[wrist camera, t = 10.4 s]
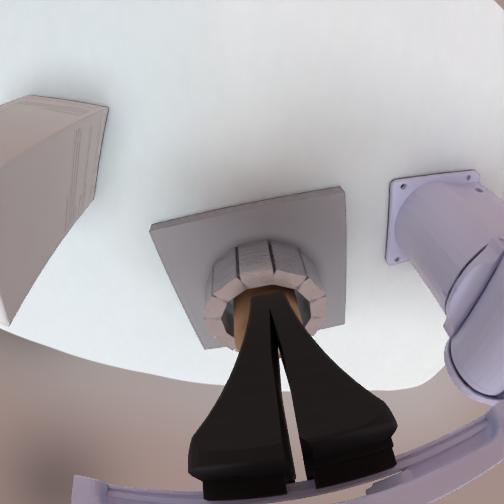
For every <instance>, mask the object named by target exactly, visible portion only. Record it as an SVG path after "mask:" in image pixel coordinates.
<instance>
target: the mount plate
mask: <svg viewBox="0 0 504 504" xmlns="http://www.w3.org/2000/svg"><path fill="white" fill-rule="evenodd" d="M149 233H150V235H151V237H152V240H153V242H154V244H155V247H156V249H157V251H158V254H159V256H160V258H161V261H162V263H163V265H164V267H165V270H166V272H167V274H168V276H169V278H170V281H171V283H172V285H173V287H174V289H175V291H176V293H177V296H178V298H179V300H180V302H181V304H182V306H183V308H184V310H185V312H186V314H187V316H188V318H189V320H190V322H191V324H192V326H193V328H194V330H195V332H196V334H197V336H198V338H199V340H200V342H201V344H202V346H203V348H204V350H206V349H213V348H220V347H226V346H225V345H223V344H221V343H220V342H218V341H216V340H215V339H214V337H212V336H211V334H210V331H209V329H208V327H207V325H206V323H205V320H204V307H205V292H206V283H207V280H208V277H209V274H210V271H211V268H212V265H214V262H215V261H217V260H218V259H219V258H220V257H222V256H223V255H224V254H226V253H227V252H228V251H229V250H231V249H232V248H233V247H236V248H238V245H240V244H245V243H250V242H255V241H260V240H265V239H267V243H269V241H270V239H271V240H275V241H279V242H282V243H286V244H290V245H294V246H297V249H298V248H300V249H301V250H302V251H303V252H304V254H305V255H306V256H307V257H308V258H309V259H310V260H311V261H312V262H313V263H314V265H315V267H316V270H317V272H318V275H319V278H320V280H321V283H322V286H323V289H324V292H325V294H326V302H327V316H325V317H326V319H325V321H324V322H323V323H322V325H321V326H320V328H319V329H318V330H320V329H325V328H329V327H334V326H338V325H342V324H345V303H346V205H345V192H344V190H343V189H342V188H341V187H335V188H329V189H323V190H317V191H311V192H305V193H300V194H294V195H289V196H283V197H278V198H273V199H268V200H262V201H257V202H252V203H247V204H242V205H238V206H233V207H228V208H223V209H218V210H214V211H209V212H205V213H200V214H195V215H191V216H187V217H182V218H178V219H174V220H169V221H165V222H161V223H157V224H152V226H151V228H150V231H149ZM294 290H295V294H296V297H297V295H298V293H299V292H298V291H297V290H296V289H294ZM228 303H230V304H231V305H232V306H233V299H232V300H230V301H229V302H228Z"/></svg>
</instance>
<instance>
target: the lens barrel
mask: <svg viewBox="0 0 504 504" xmlns="http://www.w3.org/2000/svg"><path fill="white" fill-rule="evenodd" d="M272 284H273V285H278V286H283V287H287V288H292V289H296V290H297V291H298V292H299V293H298V295H297V297H296V298H297V302H298V306H299V310H300V314H301V318H302V322H303V326H304V327H305V329H306V330H307V331H308V333H309V334H310V335H312V336H314V334H315V333H316V332H317V330H318V329H319V328H320V326H321V325H322V323H323V322H324V321H325V319H326V317H325V316H327V302H326V294H325V292H324V289H323V286H322V283H321V280H320V278H319V275H318V272H317V270H316V267H315V265H314V263H313V262H312V261H311V260H310V259H309V258H308V257H307V256H306V255H305V254H304V252H303V251H302V250H301V249H300V248H298V249H297V246H294V245H290V244H286V243H282V242H279V241H275V240H271V239H270V241H269V243H267V239H265V240H260V241H255V242H250V243H245V244H240V245H238V248H236V247H233V248H232V249H231V250H229V251H228V252H227V253H226V254H224V255H223V256H222V257H220V258H219V259H218V260H217V261H215V262H214V265H212V268H211V271H210V274H209V277H208V280H207V283H206V292H205V307H204V320H205V323H206V325H207V327H208V329H209V331H210V334H211V336H212V337H214V339H215V340H216V341H218V342H220V343H221V344H223V345H225V346H226V347H228V348H230V349H231V350H234V349H235V351H237V352H239V351H238V349H237V348H236V346H235V338H234V309H233V306H232V305H231V304H230V303H228V302H229V301H230V300H232V299H233V298H234V297H236V296H237V295H239V294H240V293H242V292H243V291H245V290H246V289H250V288H256V287H261V286H266V285H272Z"/></svg>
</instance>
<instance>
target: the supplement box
mask: <svg viewBox="0 0 504 504" xmlns="http://www.w3.org/2000/svg"><path fill="white" fill-rule="evenodd" d="M107 113H108V107H103V106H98V105H93V104H87V103H80V102H76V101H68V100H62V99H55V98H47V97H39V96H30V95H27V96H24V97H21V98H18V99H16V100H13V101H10V102H7V103H5V104H2V105H0V323H2V324H4V325H6V326H8V327H9V326H10V324H11V322H12V320H13V319H14V317H15V315H16V313H17V311H18V310H19V308H20V306H21V304H22V303H23V301H24V299H25V297H26V296H27V294H28V292H29V291H30V289H31V287H32V286H33V284H34V282H35V281H36V279H37V277H38V276H39V274H40V273H41V271H42V270H43V268H44V267H45V265H46V263H47V262H48V260H49V259H50V257H51V256H52V254H53V253H54V251H55V250H56V248H57V247H58V246H59V244H60V243H61V241H62V240H63V238H64V237H65V236H66V234H67V233H68V232H69V230H70V229H71V227H72V226H73V225H74V223H75V222H76V221H77V219H78V218H79V217H80V216H81V214H82V213H83V212H84V211H85V209H86V208H87V207H88V205H89V204H90V203H91V202H92V201H93V199H94V192H95V185H96V177H97V170H98V163H99V156H100V150H101V144H102V138H103V133H104V127H105V122H106V117H107Z"/></svg>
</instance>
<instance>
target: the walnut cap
mask: <svg viewBox="0 0 504 504" xmlns="http://www.w3.org/2000/svg"><path fill="white" fill-rule="evenodd" d="M279 291H283V292H285V294H286V297H287V299H288V301H289V303H290V305H291V307H292V309H293V311H294V312H295V314H296V315H297V317H298V319H299V320H300V321H301V323H302V324H303V322H302V318H301V314H300V310H299V306H298V302H297V298H296V294H295V290H294V289H292V288H287V287H283V286H278V285H273V284H272V285H266V286H261V287H256V288H250V289H246V290H245V291H243V292H242V293H240V294H239V295H237V296H236V297H234V298H233V309H234V338H235V346H236V348H237V349H238V351H240V348H241V345H242V342H243V339H244V335H245V331H246V327H247V323H248V318H249V312H250V299H251V298H252V297H254V296H259V295H264V294H269V293H274V292H279ZM278 353H279V358H281V355H280V352H279V348H278Z"/></svg>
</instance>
